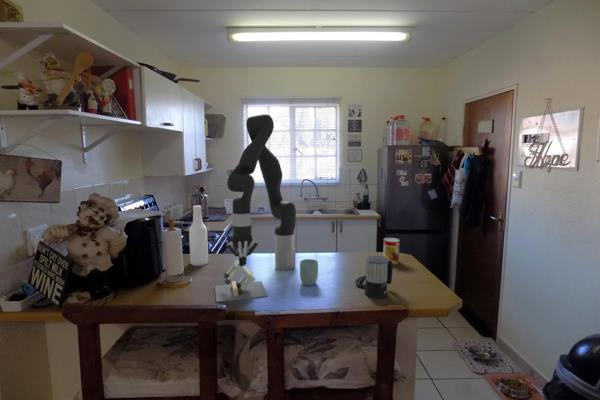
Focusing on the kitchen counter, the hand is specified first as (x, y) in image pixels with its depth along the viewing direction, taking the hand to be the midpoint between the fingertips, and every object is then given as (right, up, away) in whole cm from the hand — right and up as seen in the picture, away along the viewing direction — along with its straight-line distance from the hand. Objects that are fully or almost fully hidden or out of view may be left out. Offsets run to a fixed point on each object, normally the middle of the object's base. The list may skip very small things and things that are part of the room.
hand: (242, 265), depth 142 cm
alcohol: (-28, -6, +37) cm, 47 cm away
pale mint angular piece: (-2, -5, 0) cm, 5 cm away
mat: (-1, -11, +1) cm, 11 cm away
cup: (+27, -10, +10) cm, 31 cm away
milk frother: (+53, -11, +3) cm, 54 cm away
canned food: (+71, -6, +40) cm, 81 cm away
